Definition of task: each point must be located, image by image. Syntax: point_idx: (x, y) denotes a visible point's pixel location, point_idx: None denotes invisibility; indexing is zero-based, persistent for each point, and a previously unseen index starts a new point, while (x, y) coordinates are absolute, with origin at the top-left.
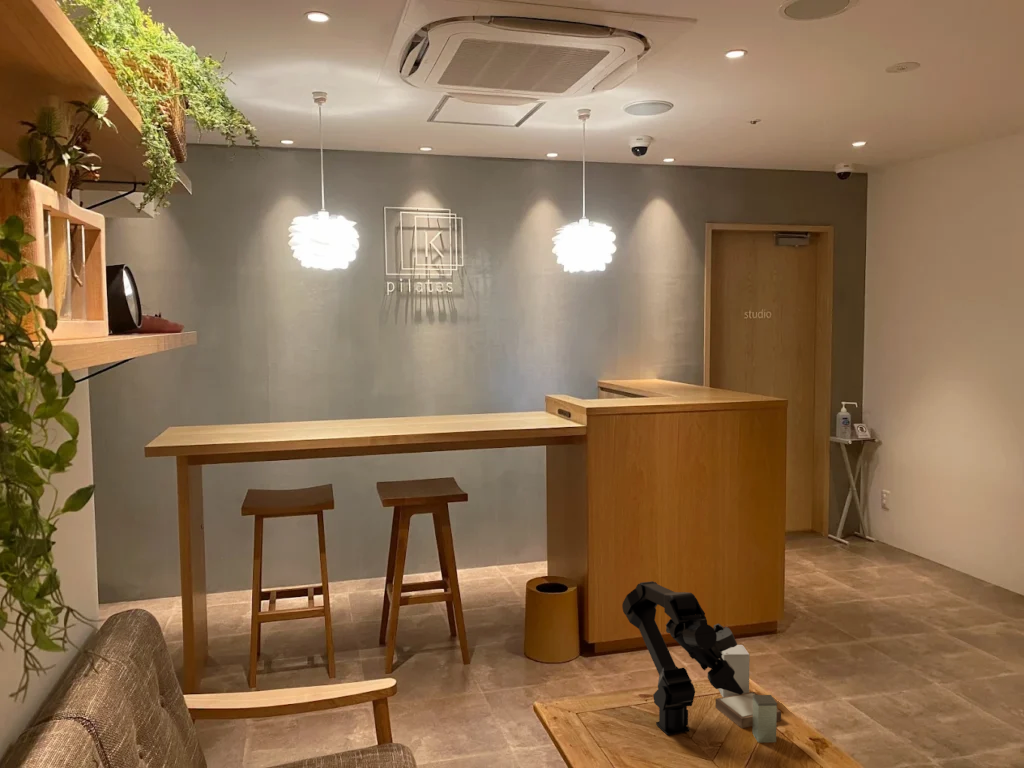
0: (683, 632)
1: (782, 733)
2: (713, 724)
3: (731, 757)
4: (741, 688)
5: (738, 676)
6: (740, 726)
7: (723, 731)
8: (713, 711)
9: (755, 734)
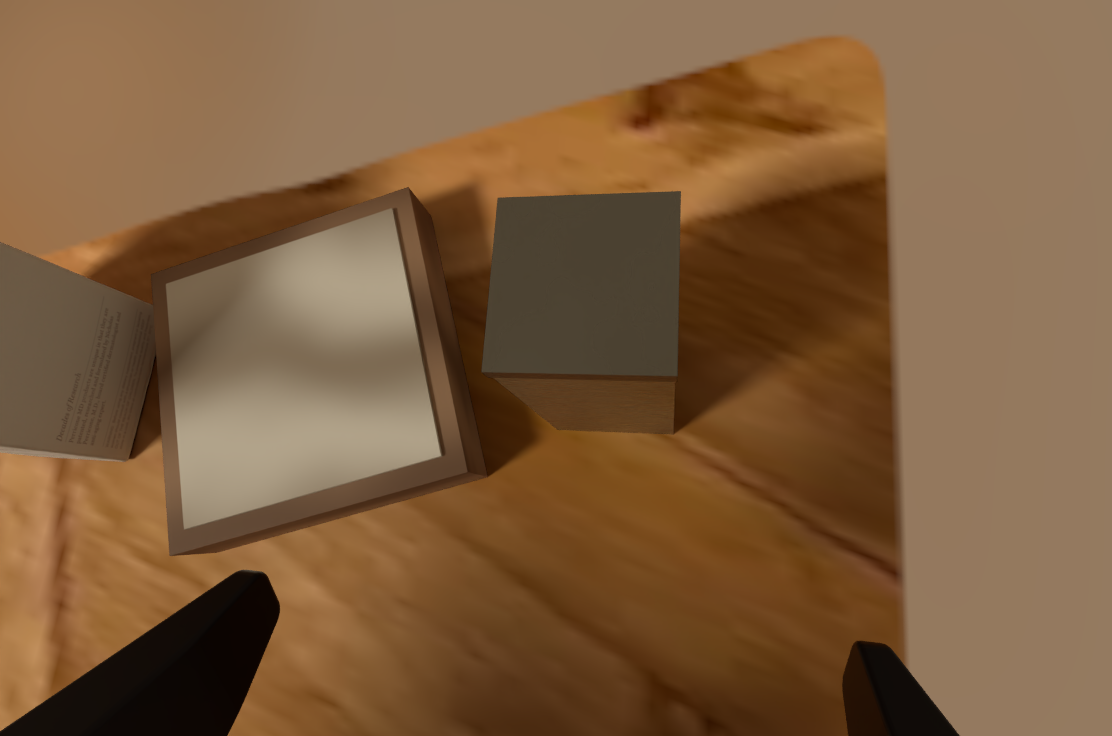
0: None
1: None
2: (414, 651)
3: None
4: (887, 693)
5: (11, 332)
6: (474, 479)
7: (512, 615)
8: None
9: (617, 428)
